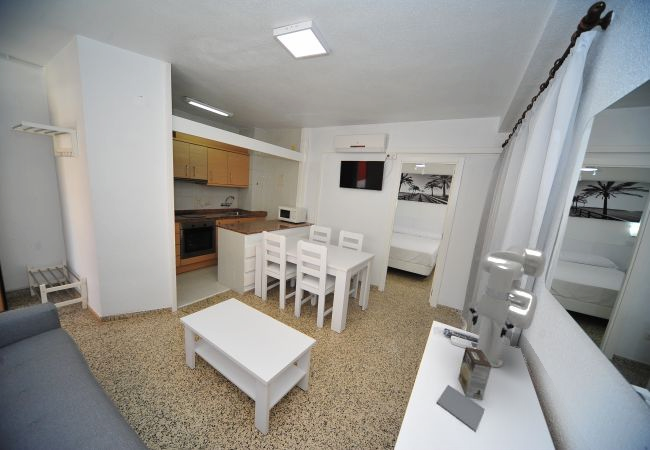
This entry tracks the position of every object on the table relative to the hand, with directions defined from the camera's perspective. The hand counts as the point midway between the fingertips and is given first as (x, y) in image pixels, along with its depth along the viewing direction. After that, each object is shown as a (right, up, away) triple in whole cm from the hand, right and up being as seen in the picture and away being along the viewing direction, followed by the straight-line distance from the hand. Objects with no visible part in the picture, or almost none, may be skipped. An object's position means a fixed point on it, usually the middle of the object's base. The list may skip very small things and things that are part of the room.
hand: (487, 329), depth 95 cm
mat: (-17, -25, -9) cm, 32 cm away
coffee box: (-8, -24, -1) cm, 26 cm away
